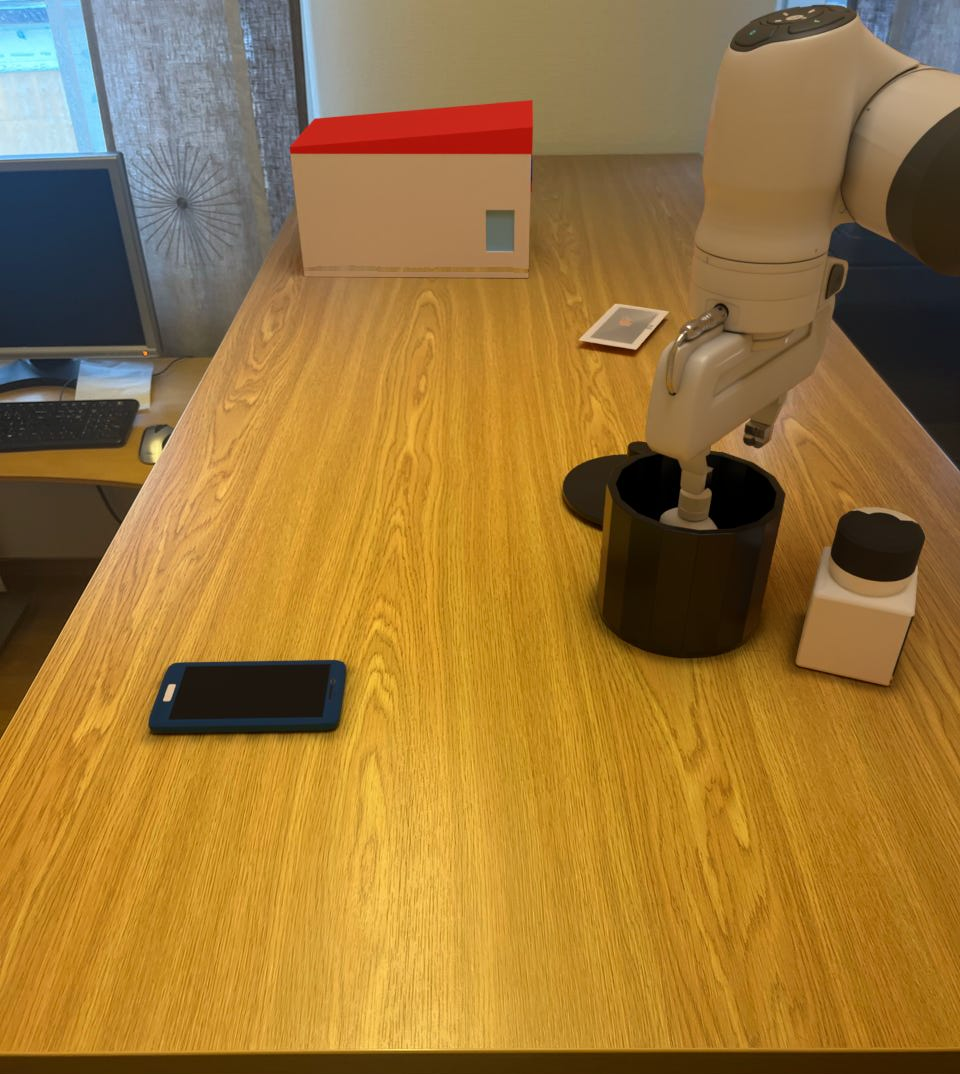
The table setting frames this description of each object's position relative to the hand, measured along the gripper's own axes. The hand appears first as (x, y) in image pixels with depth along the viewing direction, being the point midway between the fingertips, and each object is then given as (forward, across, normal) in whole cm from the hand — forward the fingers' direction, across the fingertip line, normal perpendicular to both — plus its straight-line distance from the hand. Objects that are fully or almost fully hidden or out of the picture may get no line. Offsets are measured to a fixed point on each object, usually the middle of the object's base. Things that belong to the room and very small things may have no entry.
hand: (726, 465), depth 76 cm
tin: (+12, -3, +1) cm, 13 cm away
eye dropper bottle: (+12, -3, +1) cm, 13 cm away
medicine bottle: (+13, +1, -12) cm, 18 cm away
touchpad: (+13, +46, +40) cm, 62 cm away
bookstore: (+13, +53, +84) cm, 100 cm away
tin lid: (+12, +10, +14) cm, 21 cm away
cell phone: (+12, -34, +19) cm, 41 cm away
